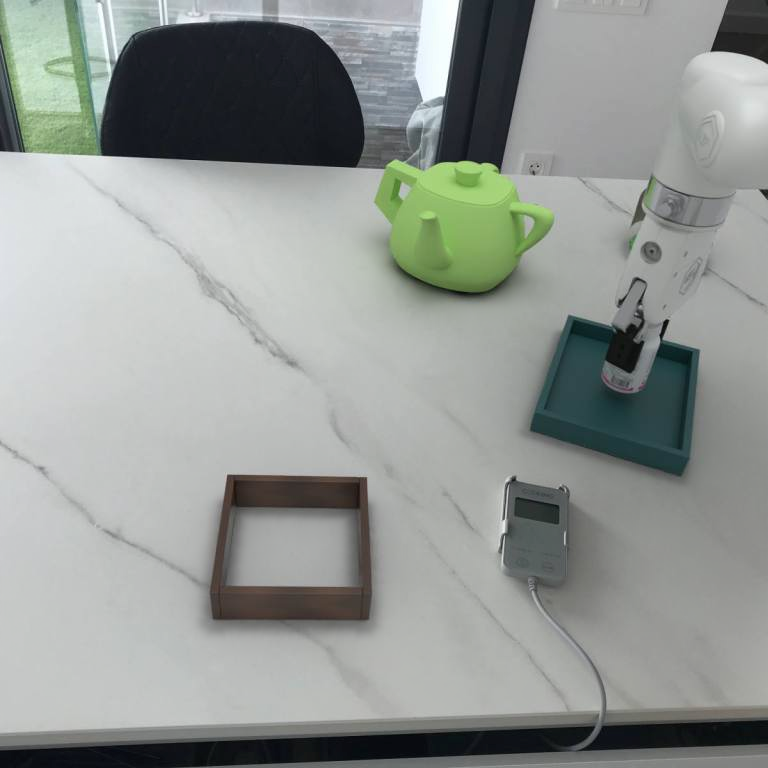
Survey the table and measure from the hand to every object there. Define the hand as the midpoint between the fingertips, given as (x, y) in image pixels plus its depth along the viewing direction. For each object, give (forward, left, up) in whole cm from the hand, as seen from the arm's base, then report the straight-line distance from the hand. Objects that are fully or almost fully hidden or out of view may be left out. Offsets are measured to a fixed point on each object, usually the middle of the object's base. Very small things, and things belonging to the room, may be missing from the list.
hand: (632, 353), depth 83 cm
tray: (0, 0, -6) cm, 6 cm away
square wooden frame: (+11, +40, -6) cm, 42 cm away
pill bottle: (0, 0, -4) cm, 4 cm away
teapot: (+29, -8, -6) cm, 31 cm away
